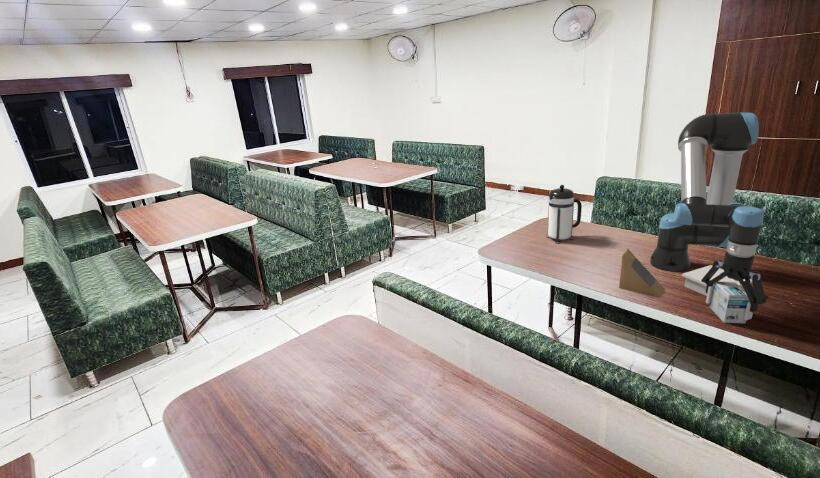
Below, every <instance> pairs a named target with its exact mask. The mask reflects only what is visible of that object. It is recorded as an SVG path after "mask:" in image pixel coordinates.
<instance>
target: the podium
mask: <svg viewBox="0 0 820 478" xmlns="http://www.w3.org/2000/svg"><path fill="white" fill-rule="evenodd" d="M712 266H713V264H712V265H711V264H710V265H707V266H704V267H700V268H696V269H693V270H691V271H687V272H684V273H682V274H681V277H683V278H685V281H684V288H686V289H690V290H692V291H694V292H697V293H698V294H701V295H704V296H706V297H707V293H706V292H705V291H706V286H707V285H706V283H704V282H702V281H701V280H702V279H703V277H704V276H705V275H706V274H707V272H708V271H709V270H710V269H711V268H712ZM722 272H724V270H723V268H721V267H720V268H719V269H718V271H717V272H716V273H715V274H714V275H713V276H712V278H711V279H710V280H712V279H713V278H715V277H717V276H718V275H720V274H721V273H722ZM749 279H750V283H751V284H752V280H751V278H749ZM743 281H745V279H744V280H743ZM718 282H735V283H737V284H738V285H739V286H740V287H741V288H742V289H743V290H744V288H743V286H742V285H741V284H740V283H739V281H735V280H734V279H730V278H728V277H727V276H726V277H724V278H723V279H721V280H720V281H718ZM713 285H714V284H713Z"/></svg>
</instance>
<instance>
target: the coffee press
mask: <svg viewBox="0 0 820 478" xmlns="http://www.w3.org/2000/svg"><path fill="white" fill-rule="evenodd" d="M575 196H576V194H575V193H574V191H573V190H572V189H569V188H565V185H564V184H560V185H559V188H555V189H552V190H550V192H549V194H548V200H547V202H548V213H547V215H548V216H547V234H545V236H547V235H548V236H549V238H551V239H555V243H556V242H559V243H560V240H567V239H570V240H571V239H575V237H574V235H573V229H575V228H577V227H578V226H579V225H580V223H581V220H582V208H583V206H582V202H581V200H579V199H577V198H575ZM575 203H576V205H577V211H576V212H577V214H576V221H575V222H574V212H575V211H574V208H575ZM573 222H574V223H573Z"/></svg>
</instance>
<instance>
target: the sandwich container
mask: <svg viewBox="0 0 820 478" xmlns="http://www.w3.org/2000/svg"><path fill="white" fill-rule="evenodd" d="M618 284H619V285H618V288H619V289H621V290H627V291H631V292H635V293H639V294H644V295H650V296H655V297H660V298H662V296H663V295H664V292H665V290H666V289H665V287H664V286H663V285H662V284H661V283H660V281H658V279H656V278H655V277H654V276H653V274H652V273H651V272H650V271H649V270H648V269H647V268H646V266H644V264H643V263H641V261H640V260H639V259H638V258H637V257H636V256H635V255H634V253H633V252H632V251H631V250H630V249H629V248H626V250H625V251H624V253H623V254H622V255H621V265H620V276H619V283H618Z"/></svg>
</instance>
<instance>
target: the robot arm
mask: <svg viewBox="0 0 820 478" xmlns="http://www.w3.org/2000/svg"><path fill="white" fill-rule="evenodd" d="M759 128H760V127H759V120H758V117H757V115H756V114H755V113H753V112H739V111H738V112H726V113H725V112H724V113H707V114H703V115H698V116H696V117H695V118H694V119H692V120H691V121H690V122H689V121H688V123H687V124H686V125H685V126H684V127H683V129H682V130H681V132H680V134H679V136H678V141H677V149H678V150H679V152H680V159H681V160H680V164H681V165H680V167H681V168H680V179H681V180H680V184H681V185H680V186H681V187H680V188H681V189H680V190H681V191H680V195H681V197H680V198H681V199H680V200H681V201H680V202H681V203H676V205H675V207H674V212H670V213H667V214H665V215H663V216H662V217H660V223H659V225H658V228H659V229H658V235H657V240H656V241H657V244H656V247H655V249H654V251H653V253H652V255H651V256H650V260H649V261H650V262H649V263H650V265H651V266H652V267H654V268H656V269H660V270H663V271H669V272H684V271H687V270H689V269H690V267H691V260H690V259H691V258H690V255H689V245H690V246H691V245H692V246H705V247H714V248H718V247H719V248H720V247H723V248H725V247H726V249H725V250H726V252H725V255H724V258H723V259H724V260H721V259H718V260H717V259H716V260H715V261H714V260H713V262H712V263H713V264H712V268H711V269H710V270H709V271H708V272H707V274H706V275H705V276H704V277H703V279H702V280H701V281H702V282H704V283H706V285H707V286H706V291H705V292H706V293H707V296H706V298H705V304H710V303H711V298H712V293H713V288H714V285H713V284H714V283H715V282H718V281H720V280H721V279H723V278H724V277H726V276H727V277H728V278H730V279H734V280H735V281H739V283H740V284H741V285H742V286H743V288H744V290H745V292H746V294H747V296H748V298H749V300H750V302H748V303H747V307H746V312H745V316H744V320H746V321H749V320H751V319H752V318H753V314H754V313H756V312H757V310H758V306H759V305H764V304H766V303H767V299H766V298H767V297H766V295H765V291H764V285H763V283H762V278H763V277H762V276H763V275H762V273H761V272H759V273H758V272H757V273H755V272H752V267H753V264H754V260H755V255H756V252H757V246H758V242H759V238H760V233H761V229H762V225H763V223H764V215H765V214H764V213H765V212H764V210H762V209H761V208H758V207H755V206H749V205H748V206H747V205H745V204H743V203H740V202H736V201H735V202H734V198H735V192H736V188H737V183H738V178H739V173H740V170H741V169H740V168H741V164H742V159H743V156H744V154H745V153H746V152H748V151H749V149H750V146H751V145H754V144H757V142H758V141H757V140H758V139H759V131H760V129H759ZM708 146H711V147H710V148H711V150H712V152H714V158H713V164H712V171H711V174H710V175H711V176H710V180H709V186H708V189H707V172H706V171H707V170H706V167H707V166H706V149H707V147H708ZM707 190H708V192H707ZM719 268H720V269H723V270H724V272H722V273H721V274H720V275H718V276H717V277H715V278H713V279H712V280H710V279H711V278H712V276H713V275H714V274H715V273H716V272H717V271H718V269H719ZM744 279H745V281H743V280H744ZM750 279H751V280H752V283H750Z"/></svg>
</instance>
